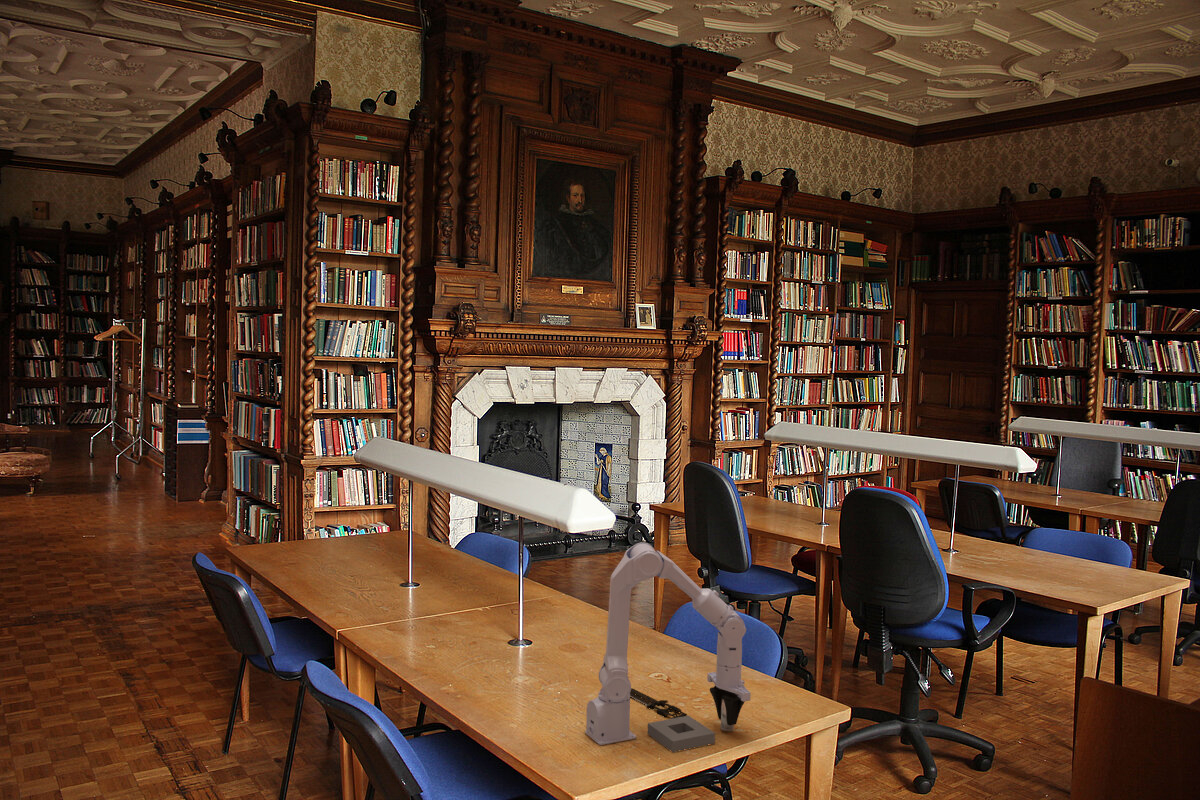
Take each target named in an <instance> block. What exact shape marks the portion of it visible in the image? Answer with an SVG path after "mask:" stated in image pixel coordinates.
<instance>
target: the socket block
mask: <svg viewBox="0 0 1200 800" xmlns="http://www.w3.org/2000/svg"><path fill="white" fill-rule="evenodd" d="M672 718H673V717H672ZM672 718H667V719H664V720H663V719H662V720H658V721H651V722H648V723H647V735H648V736H650V737H651V738H652V739H654V740H655V741H656V742H658V743H659V744H660V745H662V746H663V747H664V746H665V747H664V748H665V749H667V748H668V749H669V751H670V750H671V751H672V752H673V753H676V752H675V751H678V752H680V751H679V750H683V751H685V750H684V749H688V750H690V749H689V748H693V749H695V748H694V747H698V748H700V747H699V746H702V747H704V746H703V745H707V746H709V745H708V744H712V745H714V744H713V743H715V744H716V732H715V731H713V730H711V729H710V728H709V727H707V726H705V725H704V724H702V723H701V722H699V721H697V720H696V719H695V718H693V717H692V716H690V715H687V716H684V717H678V718H673V719H672ZM668 749H667V750H668ZM671 751H670V752H671ZM672 752H671V753H672Z"/></svg>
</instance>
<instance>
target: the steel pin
mask: <svg viewBox="0 0 1200 800" xmlns="http://www.w3.org/2000/svg"><path fill="white" fill-rule="evenodd" d="M720 730H721V731H725V732H732V731H734V730H735V725H728V724H727V719H726V707H725V703H724V700H723V698H721V720H720Z"/></svg>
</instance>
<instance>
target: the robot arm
mask: <svg viewBox="0 0 1200 800" xmlns="http://www.w3.org/2000/svg"><path fill="white" fill-rule="evenodd" d="M654 577H658V578H659V579H665V580H666V579H668V580H670V581H671V582H672V583H673V584H674V585H676V586H677V587H678V588H679V589H680V590H681V591H682V592H684V593H685V594H686V595H687V596H689V598H691V599H692V600H691V601H692V608H693V609H694V610H695V611H696V612H697V613H699V614H700V615H701V616H702V617H703V618H704V619H705V620H706V621H708V623H710V624H711V625H712V626H713V627H715V629H716V630H718V631H717V643H716V669H715V670H716V671H712V672H707V679H706V680H707V682H708V683H713V684H714V686H712V687H710V688H709V692H710V694H711V696H712V699H713V701H714V704H715V705H714V706H715V709H716V713H717V717H718V718H717V719H718V720H720V721H721V698H723V700H724V703H725V707H726V719H727V724H728V725H734V726H735V725H737V722H738V719H739V715H740V712H741V710H742V708H743V705H745V702H748V701H751V695H752V694H751V691H749V690H748V689H747V688H746V686H745V680H743V679H742V660H743V644H742V643H743V637H744V636H745V635H746V632H747V627H746V624H745V621H744V620H743V618H742V617H741V616H740V615H739V614H738V613H737V612H736V611H735V610H734V607H733V606H732V605H731V604H727V602H725V601H724V600H723V599H721V598H720V593H719V592H717V591H716V590H715V589H713V590H712V589H711V588H707V587H706V588H701V587H700V586H699V585H697V583H696V582H695V581H693V579H691V577H689V576H688V575H687V574H686V573H685V571H684V570H682V569H681V568H680V567H679V566H678V565H677V564H676V563H675V562H674V561H673V560H672V559H670V558H669V557H668V556H666V555H665V554H663V553H662V552H661V551H659V550H655V548H654V547H653V545H652V544H650V543H648V542H638V543H635V544H634V545H633V546H631V547H630V548H628V549H627V550H626V551H625V552H624V554H623V557H622V558H621V560H620V562H618V564H617V565H616V567H615V568H614V570H613V572H612V573H611V575H610V579H609V580H610V581H609V597H608V598H609V599H608V615H607V626H606V627H607V631H606V645H605V647H606V648H605V653H604V656H603V662H602V665H601V666H600V669H599V671H598V680H599V683H600V684H601V689H600V690H599V692H598V696H597V697H596V698H593V699H591V700H589V701H588V702H587V703H586V704H587V705H586V722H585V723H586V727H585V728H586V729H585V730H584V733H585V734H586V735H587V737H590V739H592V740H593V741H594V742H595V743H597V744H598V745H599V746H603V745H609V744H613V743H614V744H615V743H619V742H624V741H629V740H633V739H637V737H638V736H637V735H636V734H635V733H634V732H632V731H631V730H630V724H631V723H630V722H631V719H630V716H631V698H630V693H631V688H632V683H631V681H630V679H629V675H628V674H629V667H628V648H629V647H628V646H629V628H630V617H631V616H630V615H631V597H632V589H633V588H634V587H636V586H638V585H639V584H640V583H641V582H644V581H647V580H650V579H653V578H654Z"/></svg>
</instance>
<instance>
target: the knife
mask: <svg viewBox="0 0 1200 800" xmlns="http://www.w3.org/2000/svg"><path fill="white" fill-rule="evenodd" d="M631 692H632V693H631ZM631 692H630V697H632V698H634V699H635V700H634V699H633V700H634V701H636V700H638V701H640V702H641V703H640V702H639V703H640V704H642V703H643V704H642V705H644V704H645V705H644V706H646V709H649V708H650V709H649V710H653V709H654V710H656V714H657V715H659V716H661V717H663V716H664V717H663V718H666V716H670V717H671V719H673V718H678V717H684V716H688V714H687V713H686V712H683V711H682V709H681V708H679V707H677V706H675V705H672V704H669V700H664V699H661V700H657V699H655V698H653V697H651V696H649V695H647V694H645V693H643V692H640V691H639V690H637V689H635V688H632V687H631ZM635 694H636V695H635ZM641 697H642V698H641ZM632 698H631V699H632ZM638 701H637V702H638ZM650 702H651V703H650ZM656 705H657V706H656ZM660 707H662V708H660ZM664 707H666V708H664ZM672 709H673V710H672ZM676 711H677V712H676ZM669 712H671V713H669ZM673 712H676V713H673ZM678 712H680V713H678ZM672 713H673V714H672Z"/></svg>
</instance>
